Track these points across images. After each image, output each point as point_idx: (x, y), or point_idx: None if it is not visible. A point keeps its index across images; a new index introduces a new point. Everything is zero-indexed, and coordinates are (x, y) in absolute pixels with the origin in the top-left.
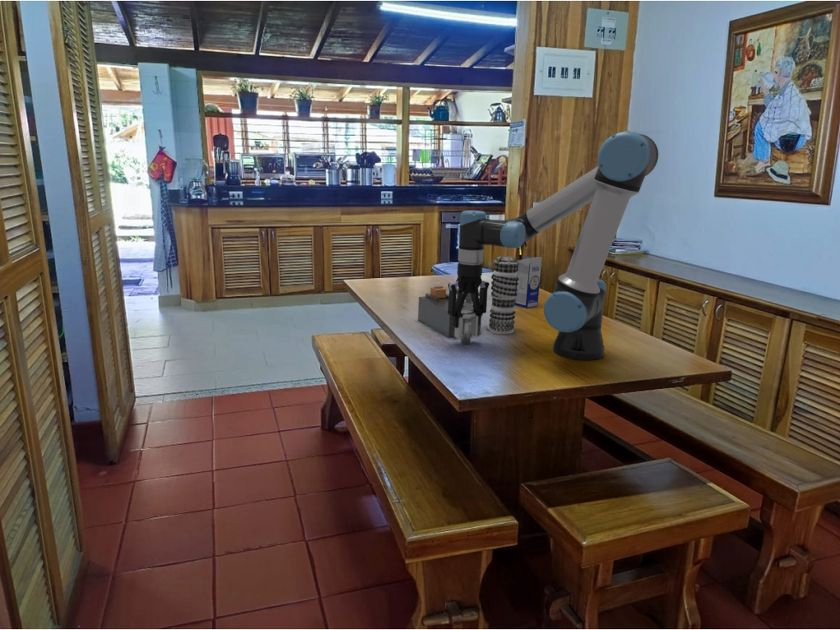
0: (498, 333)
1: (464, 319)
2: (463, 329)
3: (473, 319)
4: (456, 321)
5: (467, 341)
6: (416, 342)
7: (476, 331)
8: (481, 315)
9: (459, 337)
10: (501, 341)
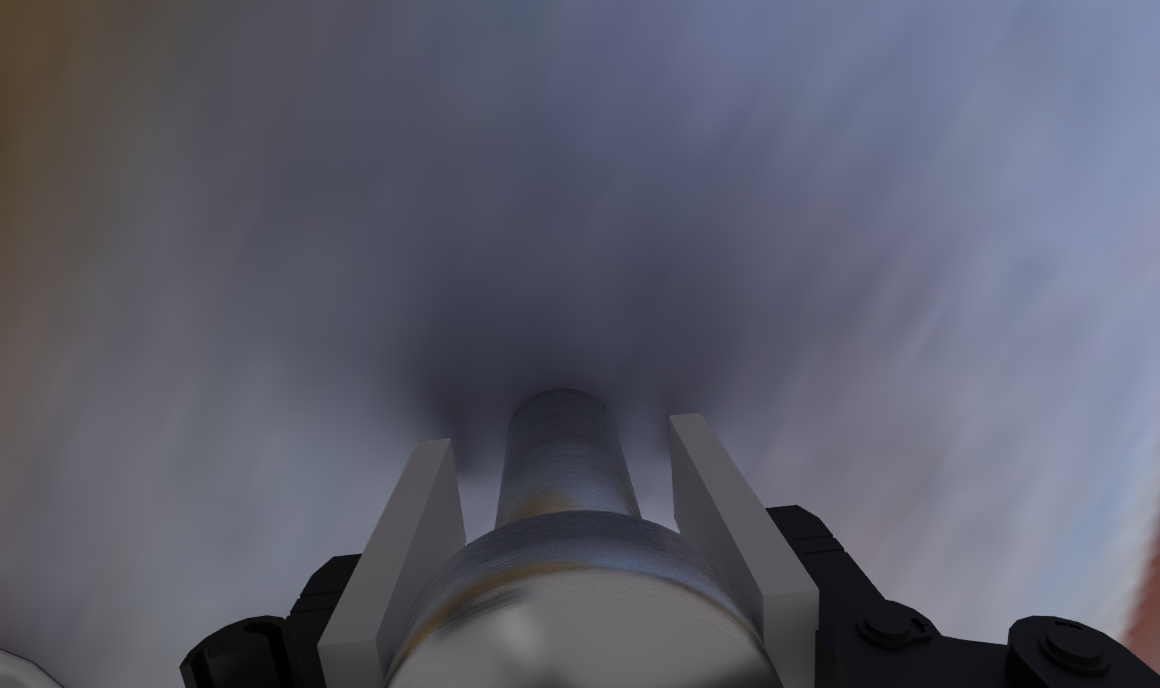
0: (27, 662)
1: (706, 558)
2: (636, 503)
3: (495, 533)
4: (837, 574)
5: (565, 403)
6: (1035, 577)
7: (419, 471)
8: (234, 636)
9: (694, 419)
10: (94, 402)
